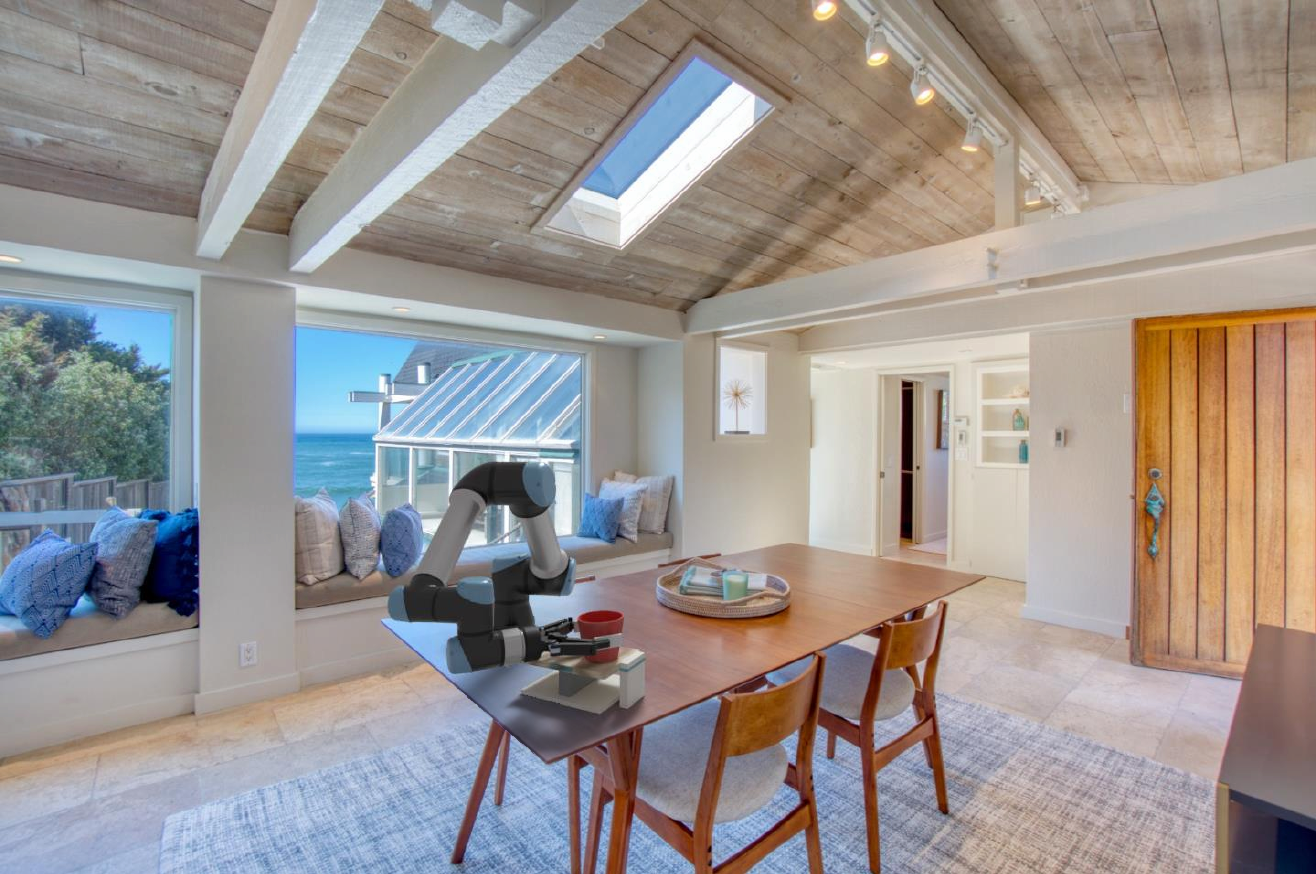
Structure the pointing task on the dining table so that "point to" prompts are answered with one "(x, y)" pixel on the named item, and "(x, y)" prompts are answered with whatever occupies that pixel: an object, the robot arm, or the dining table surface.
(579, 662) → the plate
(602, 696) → the stand
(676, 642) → the dining table surface
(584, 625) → the flower pot
